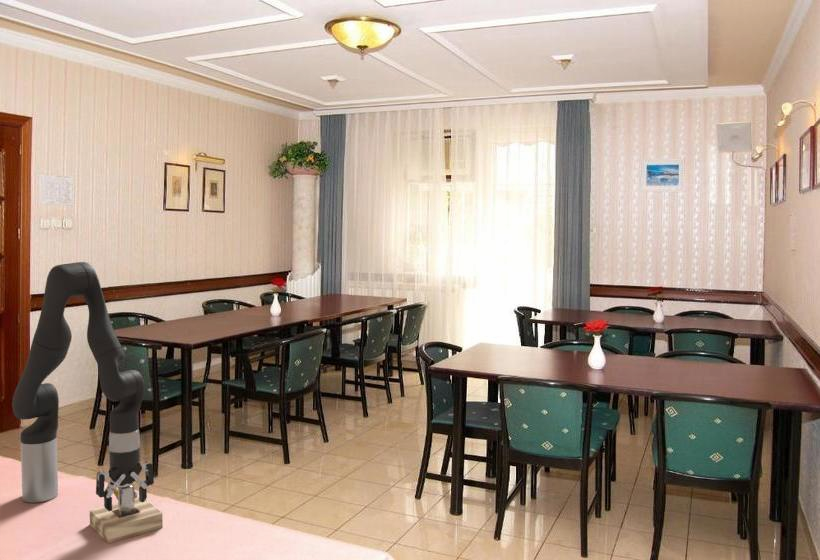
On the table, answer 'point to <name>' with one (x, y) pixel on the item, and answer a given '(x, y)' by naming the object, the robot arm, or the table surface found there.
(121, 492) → the pin
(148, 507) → the socket block
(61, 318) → the robot arm
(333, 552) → the table surface
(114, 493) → the drill bit
